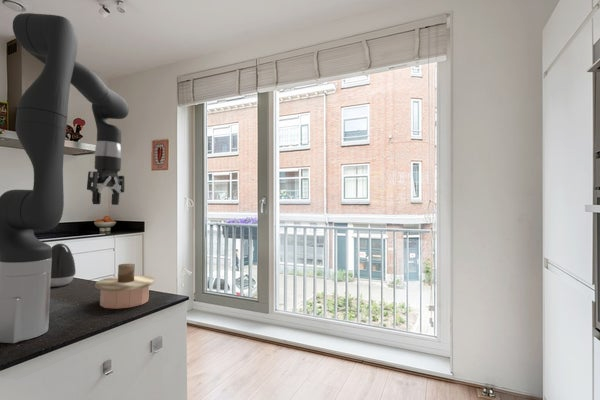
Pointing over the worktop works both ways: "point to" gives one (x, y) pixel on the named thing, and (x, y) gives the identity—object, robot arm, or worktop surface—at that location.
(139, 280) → the lid
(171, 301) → the worktop surface
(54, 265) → the pump dispenser
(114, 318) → the worktop surface
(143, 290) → the bowl
